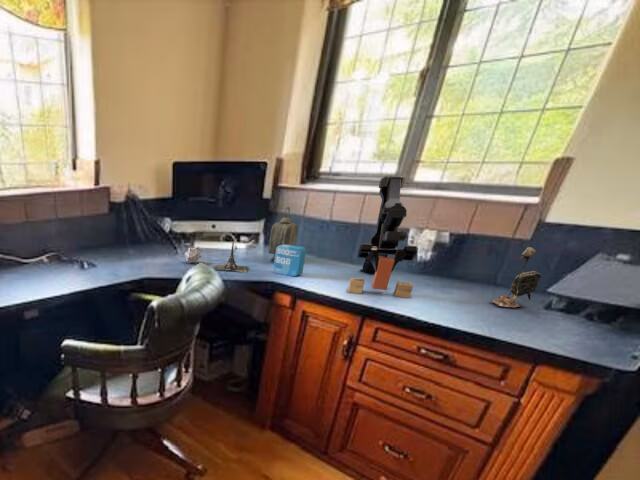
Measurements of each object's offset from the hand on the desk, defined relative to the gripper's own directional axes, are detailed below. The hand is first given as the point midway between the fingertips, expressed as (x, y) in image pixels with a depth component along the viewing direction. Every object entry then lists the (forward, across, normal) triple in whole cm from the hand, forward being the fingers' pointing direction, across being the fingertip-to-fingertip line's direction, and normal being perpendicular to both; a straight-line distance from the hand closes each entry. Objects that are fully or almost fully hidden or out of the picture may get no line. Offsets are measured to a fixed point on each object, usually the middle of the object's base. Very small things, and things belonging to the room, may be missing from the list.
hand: (383, 271), depth 156 cm
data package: (-8, -35, +21) cm, 41 cm away
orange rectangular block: (+4, 0, +6) cm, 7 cm away
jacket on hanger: (-27, -40, +39) cm, 62 cm away
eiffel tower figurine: (-10, -60, +22) cm, 65 cm away
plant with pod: (+7, +40, +6) cm, 41 cm away
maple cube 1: (+6, -8, +6) cm, 12 cm away
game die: (-14, -81, +26) cm, 86 cm away
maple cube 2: (+6, +8, +6) cm, 12 cm away
